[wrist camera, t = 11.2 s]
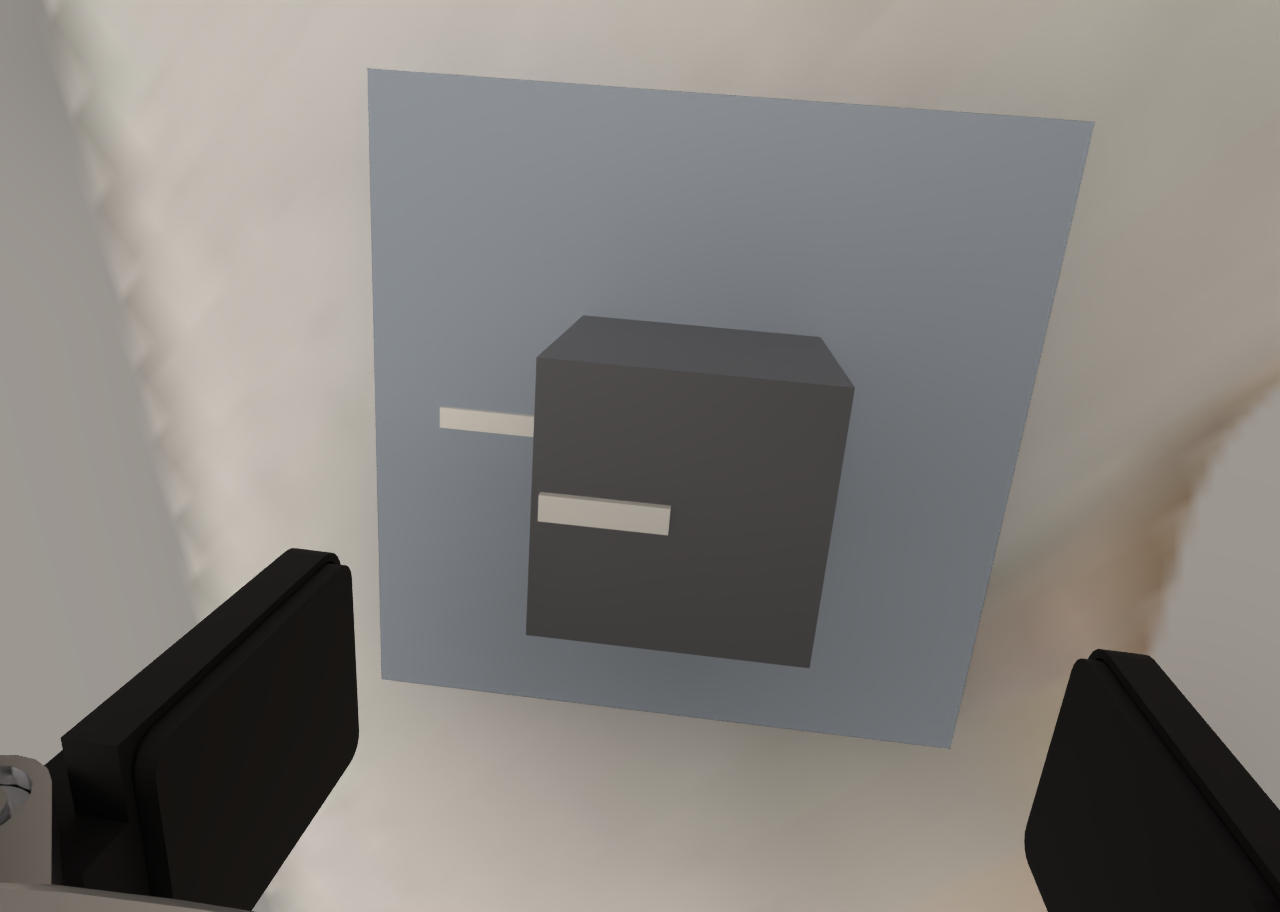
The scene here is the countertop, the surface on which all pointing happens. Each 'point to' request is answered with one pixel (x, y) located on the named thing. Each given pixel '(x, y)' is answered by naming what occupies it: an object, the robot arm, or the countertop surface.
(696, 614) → the dark gray cube
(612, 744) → the countertop surface
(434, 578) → the hub panel
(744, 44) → the countertop surface
